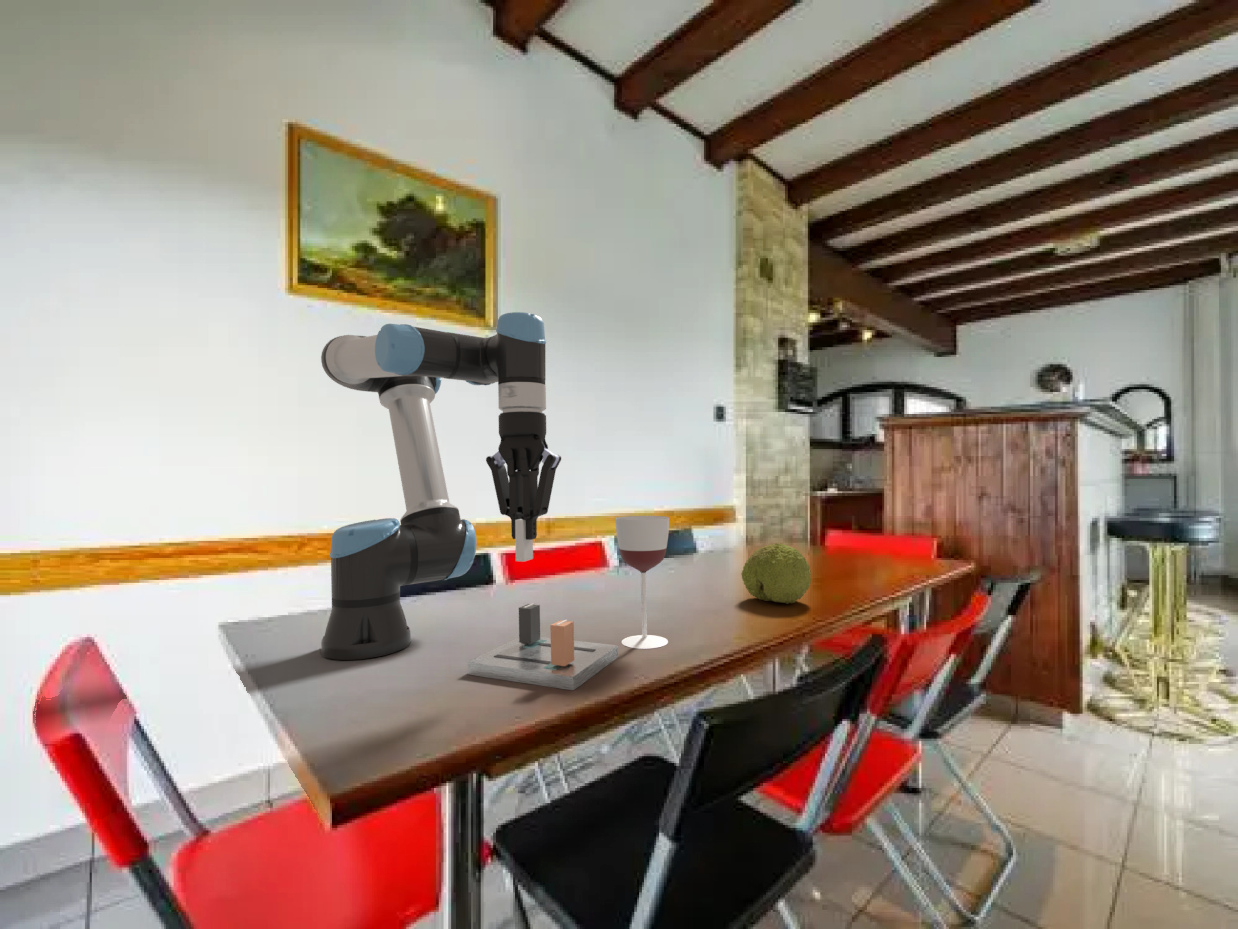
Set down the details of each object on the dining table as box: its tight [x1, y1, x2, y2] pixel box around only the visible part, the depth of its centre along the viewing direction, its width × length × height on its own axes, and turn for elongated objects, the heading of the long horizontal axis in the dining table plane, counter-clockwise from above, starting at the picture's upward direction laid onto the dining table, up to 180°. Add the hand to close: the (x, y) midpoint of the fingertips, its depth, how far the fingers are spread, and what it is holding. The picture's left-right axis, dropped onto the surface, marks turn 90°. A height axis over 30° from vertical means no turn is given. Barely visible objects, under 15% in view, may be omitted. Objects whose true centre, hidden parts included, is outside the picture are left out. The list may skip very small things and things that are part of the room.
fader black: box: [518, 602, 541, 644], centre depth 101 cm, size 2×3×6 cm
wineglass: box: [615, 515, 670, 650], centre depth 107 cm, size 9×10×23 cm
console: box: [466, 636, 619, 691], centre depth 95 cm, size 19×16×2 cm
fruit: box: [740, 543, 812, 605], centre depth 137 cm, size 16×14×15 cm
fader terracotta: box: [550, 619, 575, 666], centre depth 89 cm, size 2×3×6 cm
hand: (524, 559), depth 92 cm, fingers closed
